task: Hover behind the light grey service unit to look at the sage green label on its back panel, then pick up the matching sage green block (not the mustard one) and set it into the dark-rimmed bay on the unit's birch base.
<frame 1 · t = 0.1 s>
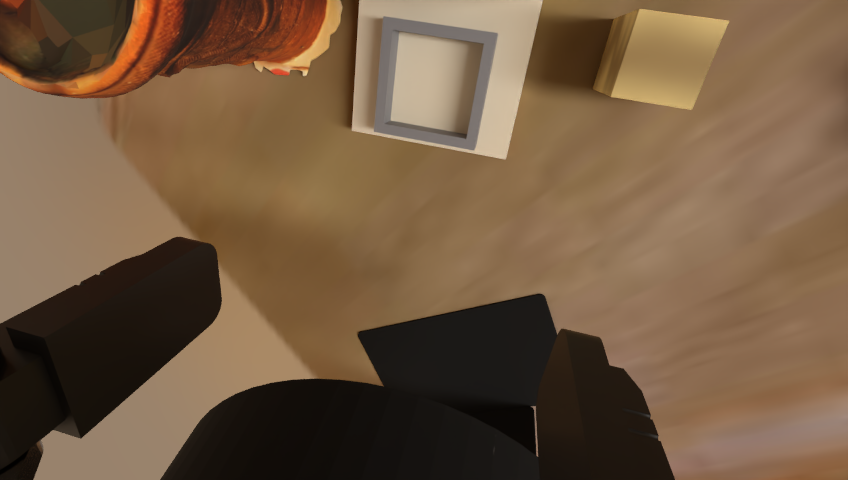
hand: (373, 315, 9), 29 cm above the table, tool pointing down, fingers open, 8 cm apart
unit: (438, 83, 34), on the table
table lamp: (447, 326, 45), on the table
mustard block: (636, 60, 31), on the table
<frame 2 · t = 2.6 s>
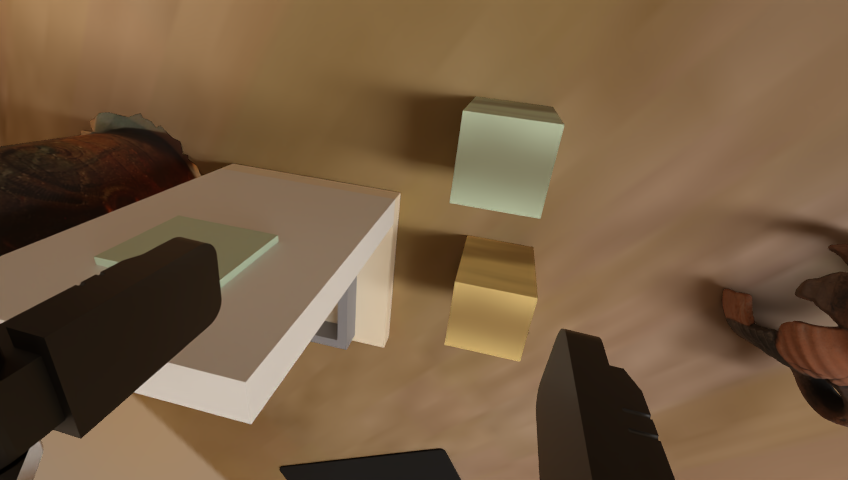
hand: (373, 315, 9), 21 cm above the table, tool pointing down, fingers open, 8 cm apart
vessel: (147, 190, 35), on the table
sage block: (506, 140, 27), on the table
unit: (316, 275, 35), on the table
table lamp: (361, 467, 46), on the table
pottery mug: (801, 302, 28), on the table
mustard block: (493, 269, 31), on the table
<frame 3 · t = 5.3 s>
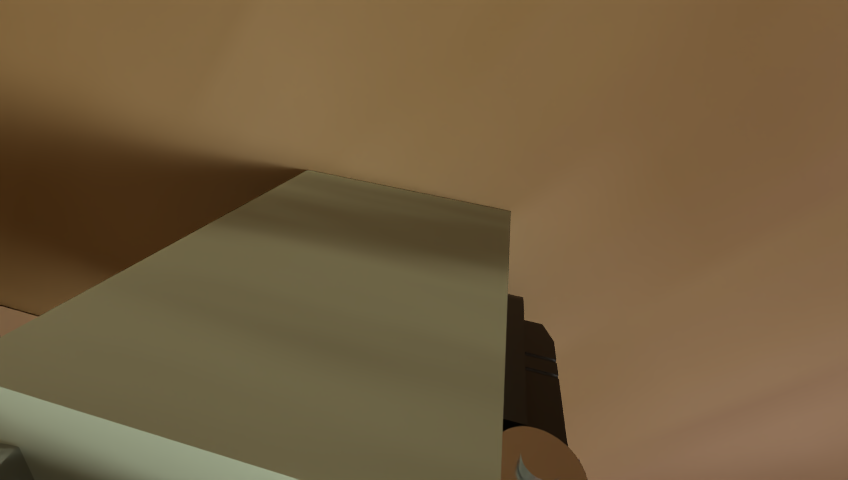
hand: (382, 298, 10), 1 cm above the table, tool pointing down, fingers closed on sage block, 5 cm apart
sage block: (394, 278, 11), on the table, touching gripper
unit: (72, 466, 18), on the table
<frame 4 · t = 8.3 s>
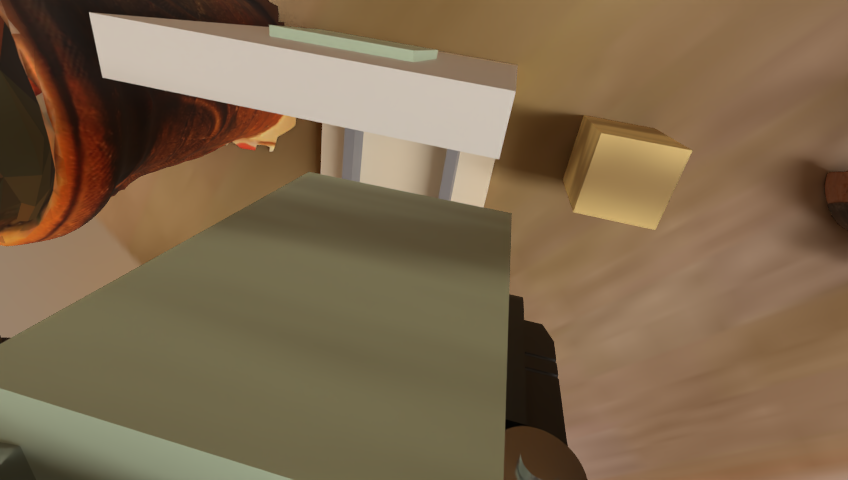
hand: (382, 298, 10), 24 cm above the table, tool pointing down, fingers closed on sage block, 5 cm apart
vessel: (231, 67, 33), on the table
sage block: (395, 280, 11), point 23 cm above the table, touching gripper
unit: (407, 165, 33), on the table
mustard block: (606, 155, 30), on the table
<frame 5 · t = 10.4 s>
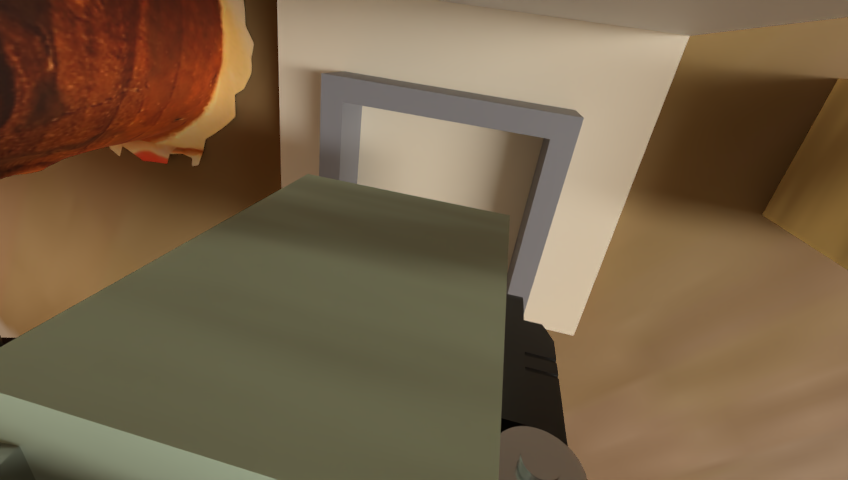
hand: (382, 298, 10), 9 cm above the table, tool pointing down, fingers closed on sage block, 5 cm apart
vessel: (113, 10, 18), on the table
sage block: (394, 281, 11), point 8 cm above the table, touching gripper
unit: (443, 188, 18), on the table
when the fingers open (4 cm above the table, at t = 11.8 s): sage block drops 2 cm, resting on unit.
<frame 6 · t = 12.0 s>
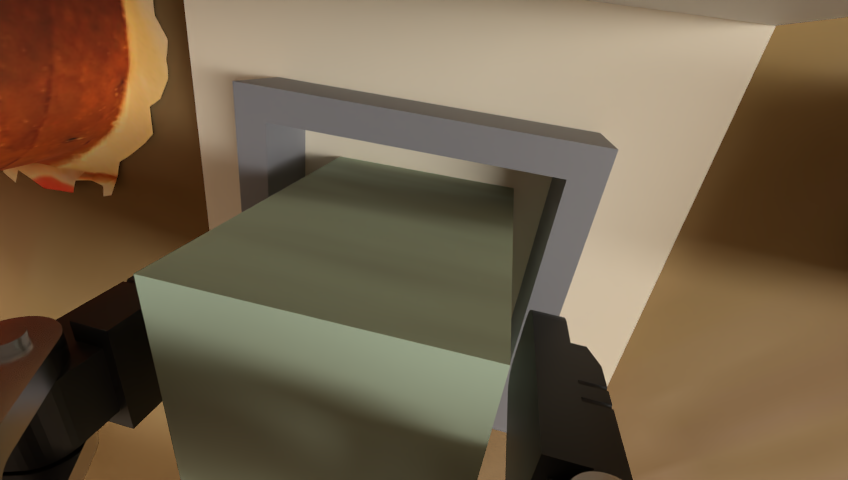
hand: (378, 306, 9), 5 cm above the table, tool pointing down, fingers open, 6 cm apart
sage block: (414, 250, 12), point 1 cm above the table, touching unit
unit: (421, 229, 14), on the table
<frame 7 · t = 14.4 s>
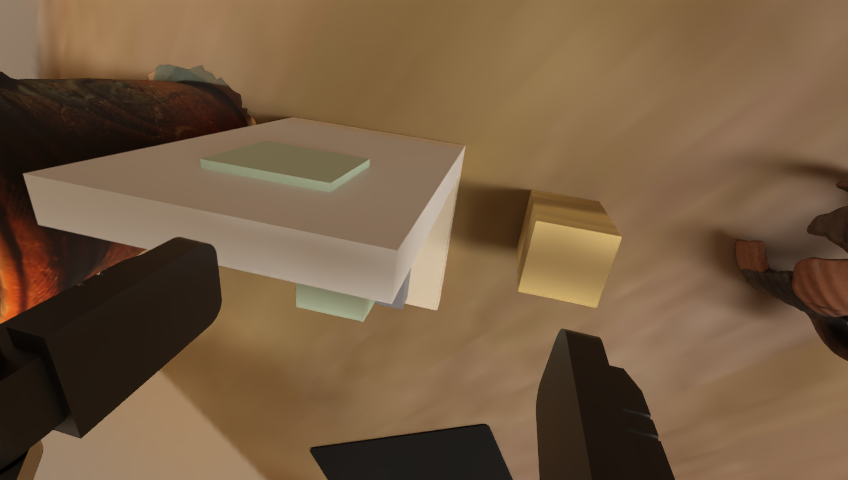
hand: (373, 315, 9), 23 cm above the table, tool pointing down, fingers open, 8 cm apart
vessel: (200, 147, 35), on the table
sage block: (364, 243, 33), point 1 cm above the table, touching unit
unit: (369, 235, 35), on the table
table lamp: (397, 447, 44), on the table
pottery mug: (814, 250, 28), on the table
mustard block: (556, 226, 31), on the table
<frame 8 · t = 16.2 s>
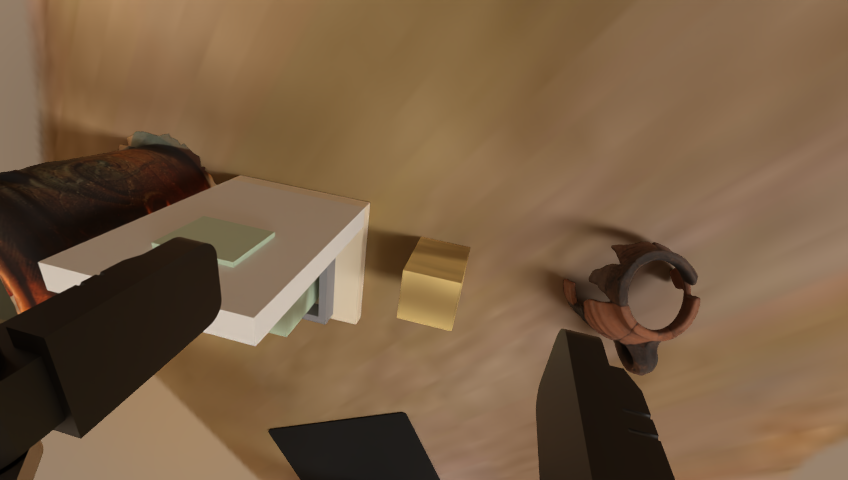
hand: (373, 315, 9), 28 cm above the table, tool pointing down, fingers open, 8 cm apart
vessel: (170, 193, 44), on the table
sage block: (297, 272, 43), point 1 cm above the table, touching unit
unit: (303, 265, 44), on the table
table lamp: (337, 429, 55), on the table
pottery mug: (619, 287, 38), on the table
mustard block: (441, 263, 40), on the table
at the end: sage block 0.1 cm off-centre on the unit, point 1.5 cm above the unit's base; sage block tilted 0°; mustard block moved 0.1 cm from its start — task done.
